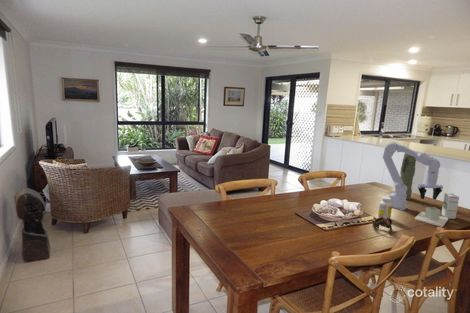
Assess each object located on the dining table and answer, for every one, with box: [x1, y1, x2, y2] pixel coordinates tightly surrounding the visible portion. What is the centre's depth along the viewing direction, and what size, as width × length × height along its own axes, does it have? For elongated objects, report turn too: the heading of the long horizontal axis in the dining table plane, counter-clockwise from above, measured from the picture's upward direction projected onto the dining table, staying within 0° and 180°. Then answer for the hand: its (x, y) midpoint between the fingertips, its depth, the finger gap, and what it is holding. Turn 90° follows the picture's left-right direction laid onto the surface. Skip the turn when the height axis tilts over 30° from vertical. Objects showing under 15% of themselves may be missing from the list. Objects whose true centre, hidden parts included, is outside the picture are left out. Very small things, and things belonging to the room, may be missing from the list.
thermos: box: [399, 153, 417, 201], centre depth 208 cm, size 9×12×35 cm
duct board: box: [414, 211, 449, 228], centre depth 171 cm, size 14×16×4 cm
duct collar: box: [424, 206, 441, 220], centre depth 171 cm, size 5×5×6 cm
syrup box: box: [440, 192, 460, 220], centre depth 176 cm, size 6×6×14 cm
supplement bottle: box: [377, 196, 393, 219], centre depth 170 cm, size 7×7×13 cm
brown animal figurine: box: [371, 217, 394, 235], centre depth 155 cm, size 12×10×8 cm
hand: (428, 199), depth 180 cm, fingers open, 7 cm apart
